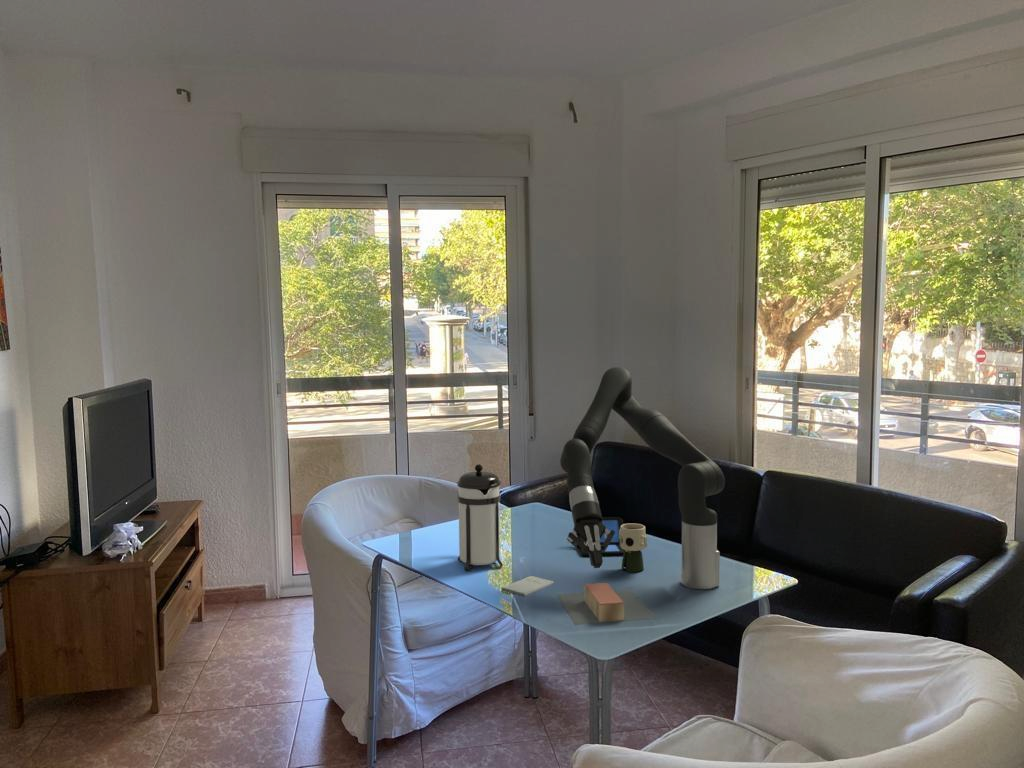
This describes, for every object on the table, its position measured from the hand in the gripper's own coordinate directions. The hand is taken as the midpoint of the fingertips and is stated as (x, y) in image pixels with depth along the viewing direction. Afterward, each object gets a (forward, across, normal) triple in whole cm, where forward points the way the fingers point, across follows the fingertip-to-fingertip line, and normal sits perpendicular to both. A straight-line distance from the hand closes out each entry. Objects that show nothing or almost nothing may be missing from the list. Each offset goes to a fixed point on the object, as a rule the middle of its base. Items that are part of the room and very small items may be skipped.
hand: (597, 566), depth 186 cm
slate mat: (+9, -1, -5) cm, 10 cm away
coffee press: (-20, +26, -34) cm, 47 cm away
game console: (-24, -14, -39) cm, 48 cm away
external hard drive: (-3, +15, -18) cm, 24 cm away
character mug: (-9, -17, -24) cm, 31 cm away
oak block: (+4, 0, -6) cm, 8 cm away
